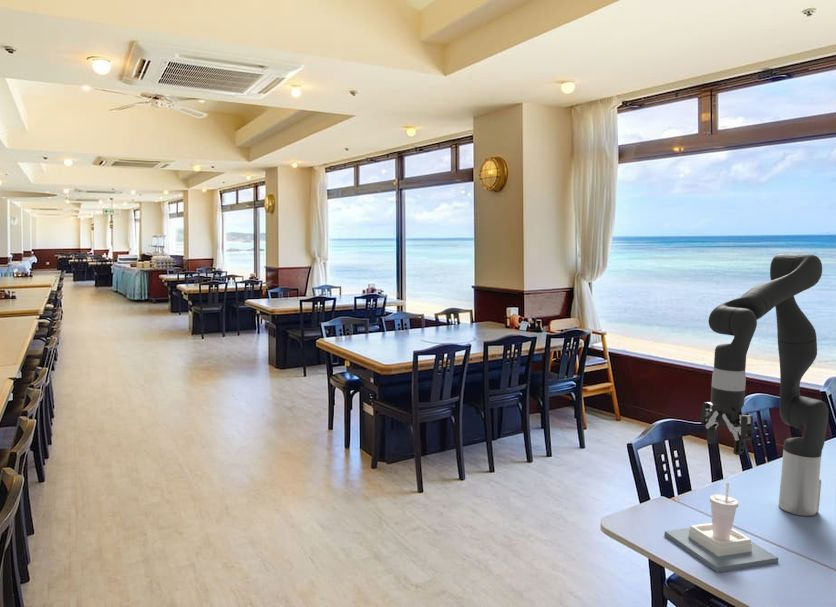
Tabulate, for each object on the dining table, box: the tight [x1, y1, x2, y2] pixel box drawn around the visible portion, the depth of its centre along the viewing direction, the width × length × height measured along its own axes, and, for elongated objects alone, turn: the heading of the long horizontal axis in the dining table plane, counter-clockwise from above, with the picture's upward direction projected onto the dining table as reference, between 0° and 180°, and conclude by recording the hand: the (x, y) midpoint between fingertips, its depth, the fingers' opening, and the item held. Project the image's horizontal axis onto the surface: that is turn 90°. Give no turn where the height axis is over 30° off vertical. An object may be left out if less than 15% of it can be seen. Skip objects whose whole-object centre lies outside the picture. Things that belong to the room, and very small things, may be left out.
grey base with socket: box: [664, 522, 779, 573], centre depth 147 cm, size 18×18×4 cm
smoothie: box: [708, 482, 739, 540], centre depth 146 cm, size 6×6×14 cm
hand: (724, 448), depth 149 cm, fingers open, 8 cm apart
